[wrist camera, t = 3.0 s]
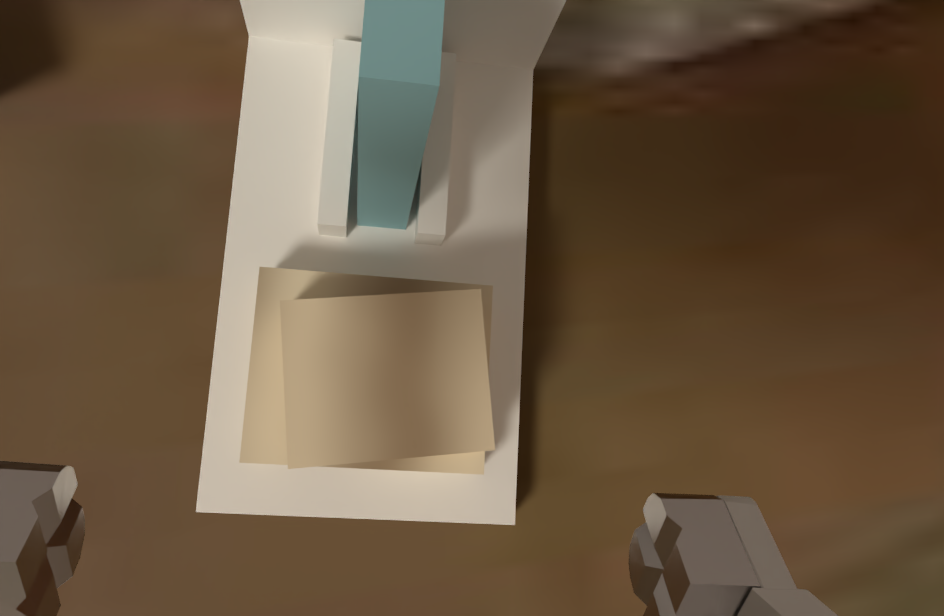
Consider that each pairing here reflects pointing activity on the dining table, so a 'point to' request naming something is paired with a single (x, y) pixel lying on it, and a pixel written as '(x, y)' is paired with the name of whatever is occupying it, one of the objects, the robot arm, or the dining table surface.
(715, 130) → the dining table surface
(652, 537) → the robot arm
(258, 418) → the plate
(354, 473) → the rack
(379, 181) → the tall board
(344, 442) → the offcut top
